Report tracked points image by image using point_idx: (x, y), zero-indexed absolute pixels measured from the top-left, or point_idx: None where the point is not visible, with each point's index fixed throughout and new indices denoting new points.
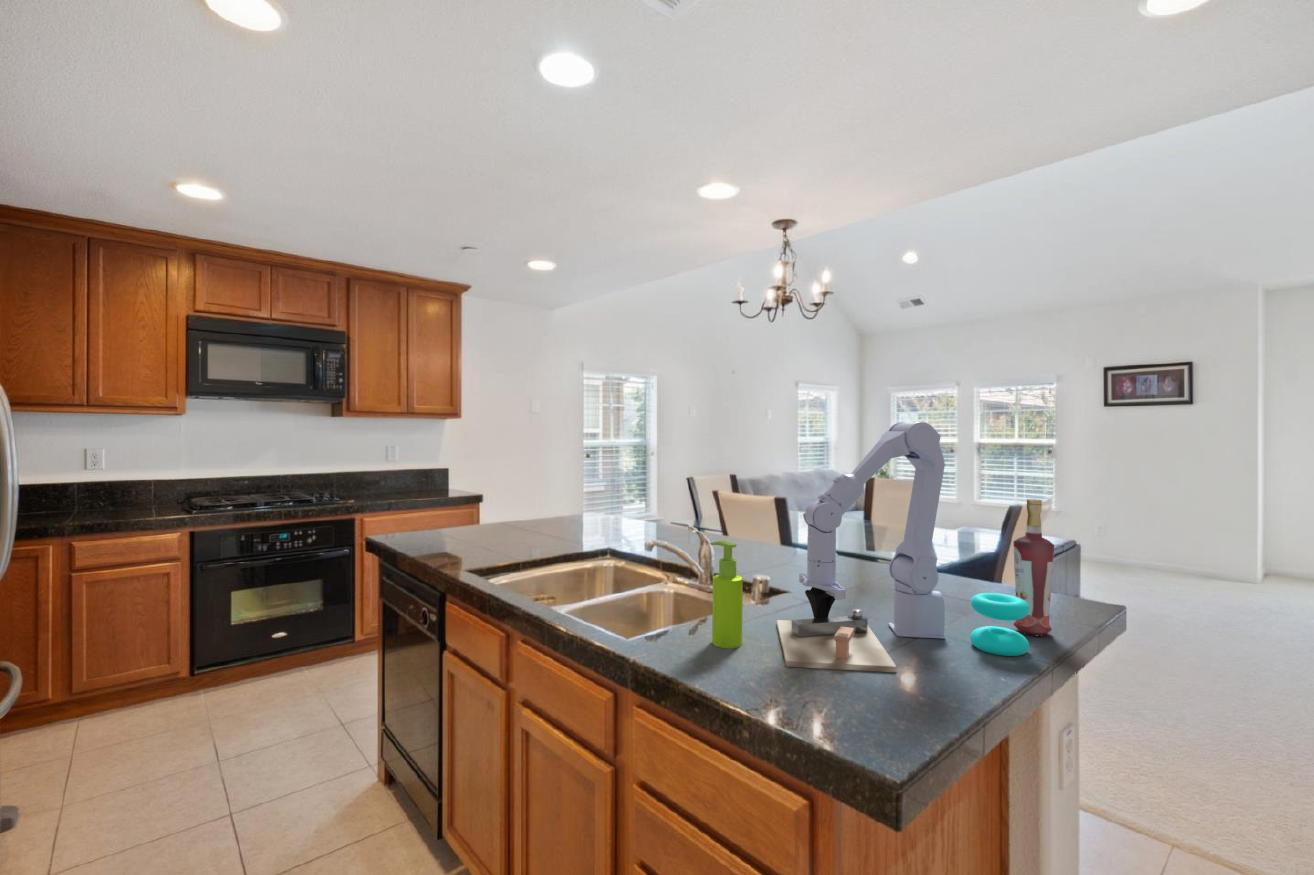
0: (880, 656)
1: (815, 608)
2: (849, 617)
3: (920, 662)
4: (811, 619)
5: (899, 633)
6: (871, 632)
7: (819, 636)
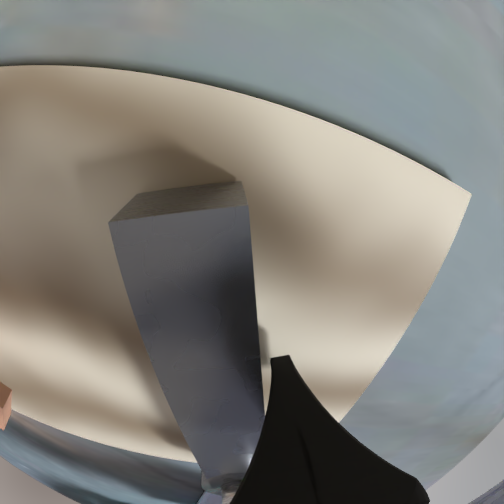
0: None
1: (273, 440)
2: None
3: (45, 440)
4: (240, 358)
5: None
6: None
7: None
